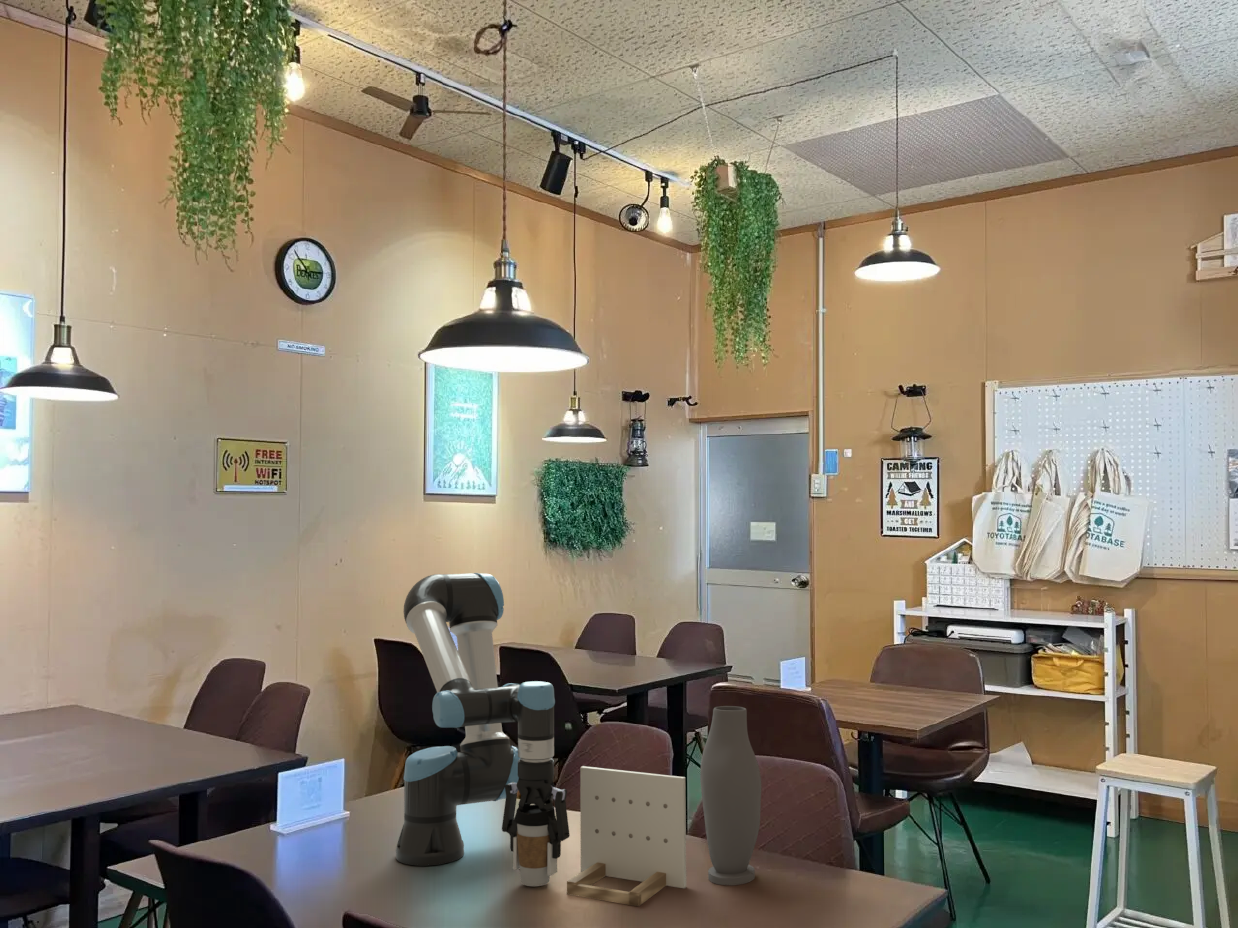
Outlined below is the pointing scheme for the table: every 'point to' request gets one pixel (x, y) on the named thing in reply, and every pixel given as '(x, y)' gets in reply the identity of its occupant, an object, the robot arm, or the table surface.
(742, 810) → the vase
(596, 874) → the wooden tray
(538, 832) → the coffee cup
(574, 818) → the table surface
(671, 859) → the wall board
